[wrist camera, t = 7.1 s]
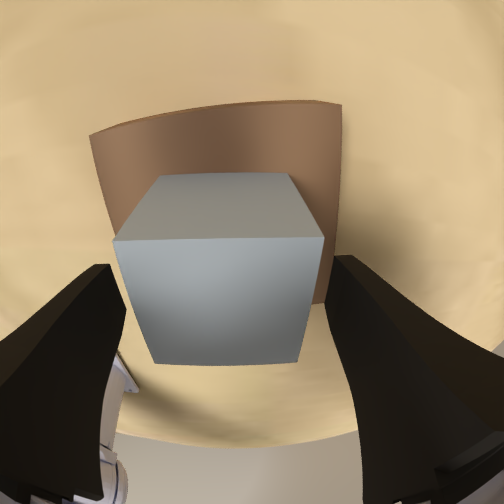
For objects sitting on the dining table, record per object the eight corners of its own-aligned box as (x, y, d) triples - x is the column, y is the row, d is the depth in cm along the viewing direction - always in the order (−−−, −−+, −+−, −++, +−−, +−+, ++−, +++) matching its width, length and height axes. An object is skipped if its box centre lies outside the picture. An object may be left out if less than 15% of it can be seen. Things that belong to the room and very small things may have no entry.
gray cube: (174, 276, 13) (155, 363, 9) (159, 175, 10) (112, 241, 6) (278, 275, 13) (297, 362, 9) (287, 172, 10) (324, 237, 6)
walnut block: (160, 273, 18) (147, 317, 14) (123, 122, 12) (88, 135, 9) (311, 260, 18) (327, 302, 14) (314, 100, 12) (341, 104, 9)
